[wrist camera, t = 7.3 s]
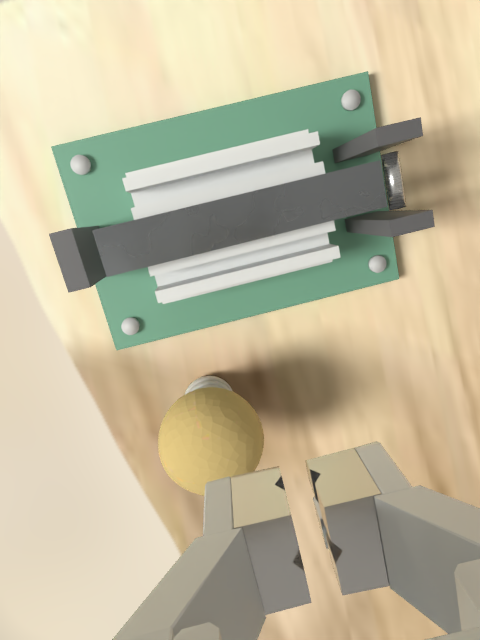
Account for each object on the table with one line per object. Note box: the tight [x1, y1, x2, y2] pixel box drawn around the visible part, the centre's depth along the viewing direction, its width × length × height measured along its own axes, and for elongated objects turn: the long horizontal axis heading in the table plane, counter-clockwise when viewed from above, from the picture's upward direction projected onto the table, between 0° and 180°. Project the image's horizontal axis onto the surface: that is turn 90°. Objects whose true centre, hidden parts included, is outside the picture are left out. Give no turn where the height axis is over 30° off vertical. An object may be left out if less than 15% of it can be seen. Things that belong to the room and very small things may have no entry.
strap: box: [92, 151, 406, 277], centre depth 24 cm, size 17×3×1 cm, turn 103°
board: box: [49, 71, 435, 350], centre depth 27 cm, size 21×14×8 cm, turn 103°
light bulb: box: [158, 376, 264, 496], centre depth 29 cm, size 6×6×10 cm
